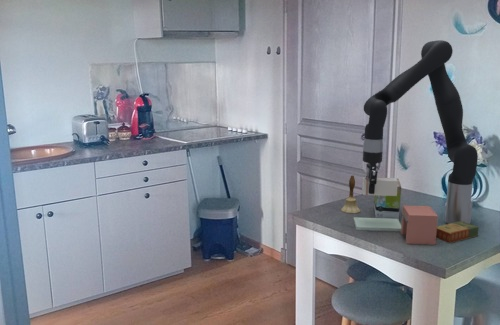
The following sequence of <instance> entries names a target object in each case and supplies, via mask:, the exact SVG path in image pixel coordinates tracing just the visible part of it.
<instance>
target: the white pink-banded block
mask: <svg viewBox="0 0 500 325" xmlns="http://www.w3.org/2000/svg"><path fill="white" fill-rule="evenodd" d="M397 179H398V178H397ZM397 179H396V177H395V178H394V177H381V178H377V181H376V182H377V183H376V184H375V192H374V194H369V179H368V178H366V177H362V186H361V187H362V189H361V193H362V195H363V196H375V195H379V196H397V187H398V181H397ZM371 181H374V179H372V180H371Z"/></svg>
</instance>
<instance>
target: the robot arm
mask: <svg viewBox="0 0 500 325" xmlns="http://www.w3.org/2000/svg"><path fill="white" fill-rule="evenodd" d="M453 52H454V51H453V47H452V44H451V43H450V42H448V41H446V40H443V39H442V40H432V41H428V42H426V43H425V44H424V45H423V46H422V47H421V51H420V55H421V59H420V60H419V61H417V62H416V63H415V64H413V65H412V66H411V67H409V68H408V69H406V70H405V71H402V72H401V73H400V74H399V75H397V76H396V77H395V78H393V79H392V80H391V81H390V82H389V83H388V84H387V85H386V86H384V88H383V89H381V90H379V91H378V92H376V93H375V94H373V95H372V96H370V97H369V98H368V99H367V100H366V101H365V103H364V105H363V111H364V113H365V114H366V115H367V116H369V117H368V123H367V124H366V125H365V126H364V139H363V145H362V146H363V148H362V162H363V163H366V166H365V167H366V168H365V169H366V173H365V178H368V179H369V194H374V192H375V184H376V183H377V182H376V181H377V177H378V173H379V172H378V171H379V170H378V166H377V164H380V163H382V162H383V155H384V152H383V151H384V141H383V140H384V127H385V124H386V121H387V115H388V105H390V104H392V103H395V102H397V101H398V100H400V99H402V97H403V96H404V95H406V94H407V93H408V92H409V91H410V90H411V89H412V88H413V87H414V86H415V85H416V84H418V83H419V82H421V80H423V79H424V78H425V77H427V76H428V78H429V82H430V86H431V91H432V94H433V98H434V102H435V107H436V110H437V113H438V116H439V121H440V125H441V128H442V130H443V134H444V138H445V147H446V152H447V157H448V158H449V160H450V161H451V162H452V163H453V166H452V171H451V173H449V174H448V176H447V177H448V179H447V180H448V181H447V191H446V201H445V214H444V222H445V223H446V224H450V223H455V222H459V221H462V222H465V223H468V224H471V222H472V221H471V220H472V211H473V202H472V194H473V193H472V192H473V186H474V185H473V183H474V179H475V177H476V174H477V166H478V161H479V160H478V158H479V155H478V151H477V149H476V147H474V146H473V145H472V144H468V142H467V139H466V137H465V136H466V135H465V134H464V131H463V130H464V129H463V119H464V118H463V117H464V109H463V103H462V100H461V95H460V93H459V91H458V89H457V87H456V85H455V84H454V82H453V81H452V80H451V78H450V77H449V74H448V71H447V67H446V63H447V62H448V61H450V60H451V58H452V56H453ZM372 179H374V181H371V180H372Z"/></svg>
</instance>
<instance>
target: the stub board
mask: <svg viewBox="0 0 500 325" xmlns="http://www.w3.org/2000/svg"><path fill="white" fill-rule="evenodd" d="M353 223H354V226H355V230H356V231H372V232H373V231H378V232H401V225H402V223H401V222H400V221H399V219H388V218H375V217H353Z"/></svg>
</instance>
